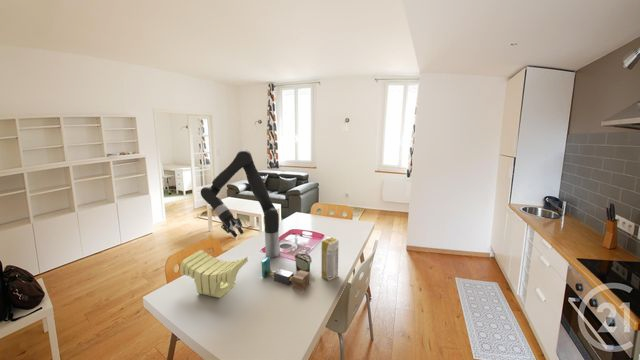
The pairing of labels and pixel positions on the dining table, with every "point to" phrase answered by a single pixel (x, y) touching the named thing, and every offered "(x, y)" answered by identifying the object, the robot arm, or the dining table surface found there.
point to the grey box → (267, 270)
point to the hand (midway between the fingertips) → (239, 234)
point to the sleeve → (283, 276)
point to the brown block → (301, 280)
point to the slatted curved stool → (211, 273)
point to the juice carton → (329, 258)
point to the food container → (303, 262)
